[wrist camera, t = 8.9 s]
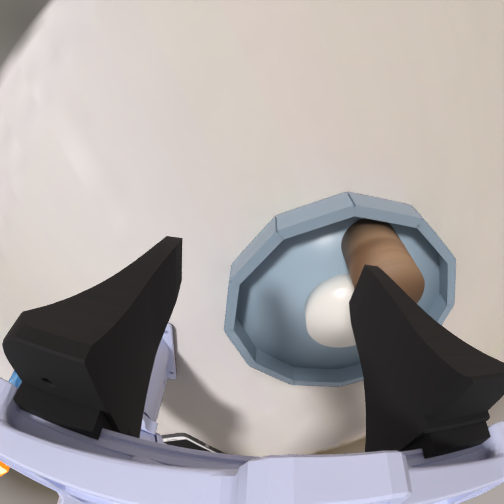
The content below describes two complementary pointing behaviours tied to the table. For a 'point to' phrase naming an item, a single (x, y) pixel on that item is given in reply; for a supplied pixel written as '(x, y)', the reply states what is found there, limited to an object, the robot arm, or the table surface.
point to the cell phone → (187, 442)
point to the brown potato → (381, 255)
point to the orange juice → (3, 468)
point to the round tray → (320, 288)
